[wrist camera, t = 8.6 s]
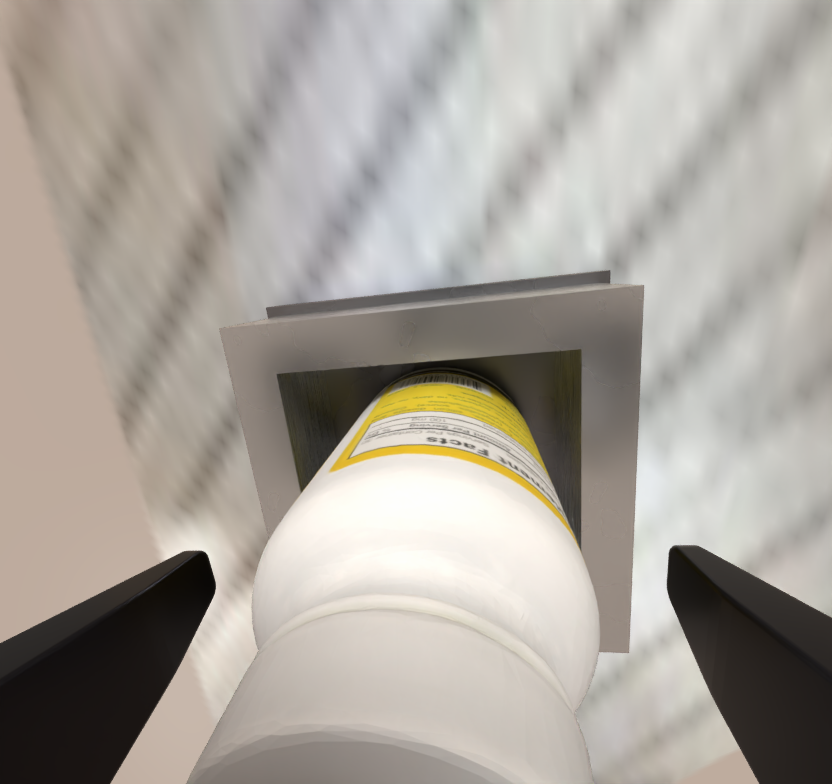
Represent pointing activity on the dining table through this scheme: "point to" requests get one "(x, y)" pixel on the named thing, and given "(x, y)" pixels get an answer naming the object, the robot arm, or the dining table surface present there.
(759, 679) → the robot arm
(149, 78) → the dining table surface
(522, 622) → the supplement bottle
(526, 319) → the socket collar
